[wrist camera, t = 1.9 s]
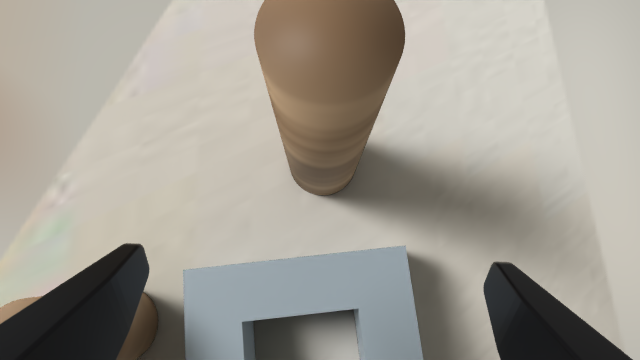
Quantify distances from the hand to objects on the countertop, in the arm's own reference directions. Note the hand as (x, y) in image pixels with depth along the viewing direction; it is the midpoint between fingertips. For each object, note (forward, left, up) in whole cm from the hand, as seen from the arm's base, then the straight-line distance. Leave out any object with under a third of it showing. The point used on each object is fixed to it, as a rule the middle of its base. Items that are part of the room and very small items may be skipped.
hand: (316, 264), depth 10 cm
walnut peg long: (+6, -1, -12) cm, 13 cm away
